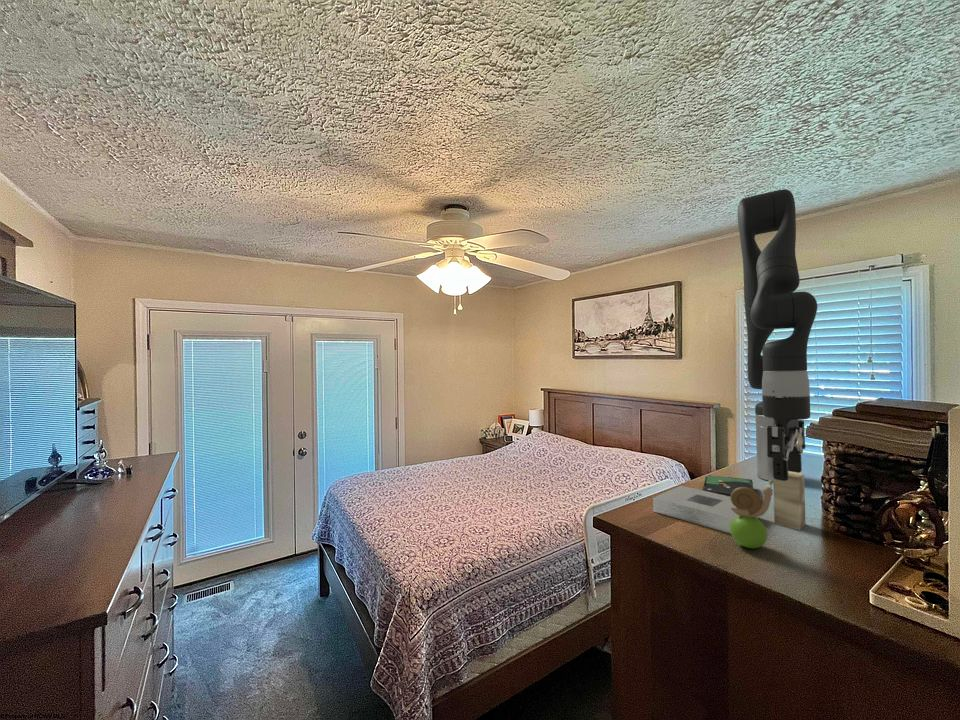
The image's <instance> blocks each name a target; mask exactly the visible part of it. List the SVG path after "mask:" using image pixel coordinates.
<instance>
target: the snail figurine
mask: <svg viewBox="0 0 960 720" xmlns="http://www.w3.org/2000/svg"><path fill="white" fill-rule="evenodd" d="M768 484H769V485H770V486H766V487H764V488H762V493H763V495H762V496H763V497H762V499H761V497H760V495H759V493H757V492H756V491H755V490H754V489H753V490H752V489H750V488H747V487H738V488H736V489H734V490H733V491H732V493H731V496H730V498H731V502H732V503H733V505H734V506H735V507H736V508H734V507H731V510H732V511H733V512H735V513H736V514H737V515H739V516H737V517H735V518H734V519H733V520H732V522H731V525H730V531H731V534H730V535H731V537H732V538H733V540H734V541H735V542H737V544H738V545H740V546H742V547H745V548H747V549H758V548H760V547H762V546H764V545H765V544H766V542H767V540H768V530H767V528H766V526H765V525H764V523H763V522H762V521H761V520H759V518H758V519H757V518H755V517H758V516H759V517H761V516H763V515H765V514H766V513H767V511H768V510H769V507H770V504H771V500H772V495H774V489H773V488H772V485H773V481H771V480H770V481H768Z"/></svg>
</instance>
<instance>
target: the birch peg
mask: <svg viewBox="0 0 960 720" xmlns="http://www.w3.org/2000/svg"><path fill="white" fill-rule="evenodd" d="M772 483H773V484H772V485H773V486H772V487H773V488H772V490H773V515H774V517H773V518H774V524H775V525H778V526H782V527H785V528H786V527H787V528H790V529H793V530H798V531H800V530H802V528H803V527H805V525H806V495H805V493H806V492H805V491H806V490H805V473H802V472H800V473H797V472H791V471H788V480H786V481H782V480H776V479H774V477H773V481H772Z"/></svg>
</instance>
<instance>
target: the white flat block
mask: <svg viewBox="0 0 960 720" xmlns="http://www.w3.org/2000/svg"><path fill="white" fill-rule="evenodd" d="M652 499H653V500H652V506H653V507H652V508H653V509H652V510H653V512H655V513H658V514H661V515H664V516H668V517H672V518H675V519H679V520H682V521H686V522H689V523H692V524H695V525H699V526H703V527H706V528H710V529H712V530H713V529H714V530H716V531H720V532H724V533H726V534H729V535H732V534H731V531H730V525H731V522H732V520H733V519H734V518H735V517H737V516H739V515H737V514H736V513H735V512H733V511H732V510H731V507H734V508H736V507H735V506H734V505H733V503H732V502H731V498H730V496H725V495H721V494H716V493H712V492H707V491H703V489H702V490H701V489H697V488H692V487H690V486H689V487H688V486H685V485H679V486H677V487H673V488H672V489H669V490H668V491H665V492H662V493H661V494H658V495H657V496H654V497H653V498H652ZM755 518H757V519H758V520H759V518H760V516H758V517H755Z"/></svg>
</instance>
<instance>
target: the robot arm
mask: <svg viewBox="0 0 960 720" xmlns="http://www.w3.org/2000/svg"><path fill="white" fill-rule="evenodd" d="M796 219H797V217H796V202H795V197H794V194H793V192H792V191H791V190H790V189H787V188H785V189H784V188H783V189H778V190H772V191H767V192H765V193H759V194H756V195H752V196H748V197H745V198H744V197H743V198H742V199H741V200H739V202H738V206H737V225H738V232H739V239H740V241H739V242H740V247H741V256H742V257H741V258H742V271H743V272H742V273H743V301H744V312H745V320H746V321H745V322H746V332H747V367H746V368H747V381H748V384H749V386H750V388H752V389H753V390H754V389H755V390H761V395H762V396H761V398H762V399H761V400H762V401H761V402H758V403H756V404H755V407H754V411H755V412H754V413H755V415H754V417H755V441H756V442H755V444H756V445H755V447H756V475H757V478H760V479H761V480H765V481H768V482H769V481H770V480H771V481H772V482H773V477H774V479H776V480H782V481H786V480H788V471H791V472H797V473H802V470H803V469H802V454H803V453H804V450H805V449H806V447H807V446H806V437H805V421H804V420H808V419H810V417H811V398H810V397H811V396H810V394H811V393H810V392H811V391H810V390H811V389H810V387H811V386H810V379H809V375H808V374H809V373H808V361H807V360H808V358H807V357H808V356H807V355H808V353H807V352H808V342H809V338H810V333H811V330H812V328H813V324H814V321H815V319H816V316H817V312H818V301H817V299H816V298H815V296H814V295H813V294H812V293H810V292H807V291H796V290H797V289H798V288H799V287H800V282H801V280H800V274H799V268H798V262H797V257H796V239H797V222H796V221H797V220H796ZM771 232H776V233H775V235H774V236H773V237H772V239H771V240H770V241H769V242H768V243H767V245H766V246H765V247H764V248H763V249H762V250H761V249H760V248H759V245H758V243H757V242H756V241H757V240H756V238H755V236H757V235H758V236H759V235H762V234H763V235H764V234H768V233H771ZM779 329H780V330H781V329H784V330H785V329H793V332H792V333H791V334H790V335H789V337H786V338H783V339H778V340H773V341H772V340H771V341H769V342H767V341H768V339H769V338H770V336H771V335H772V334H773V332H774V330H779ZM766 342H767V343H766Z"/></svg>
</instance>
